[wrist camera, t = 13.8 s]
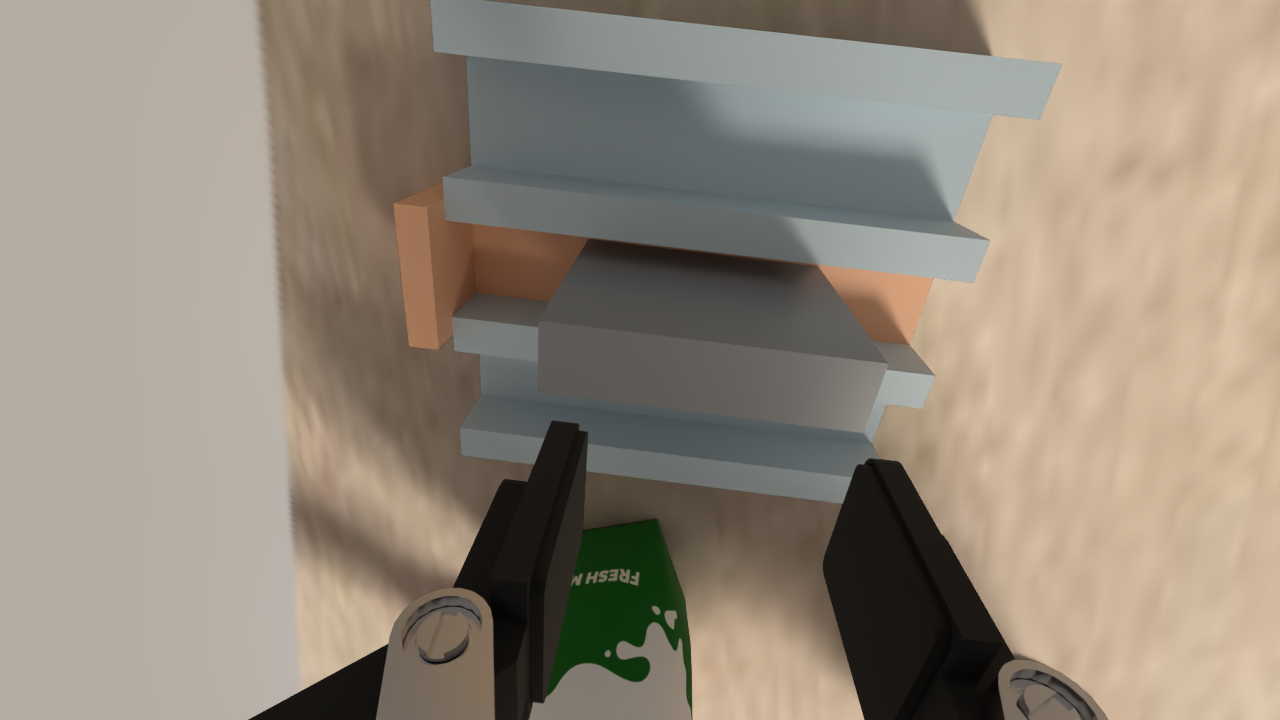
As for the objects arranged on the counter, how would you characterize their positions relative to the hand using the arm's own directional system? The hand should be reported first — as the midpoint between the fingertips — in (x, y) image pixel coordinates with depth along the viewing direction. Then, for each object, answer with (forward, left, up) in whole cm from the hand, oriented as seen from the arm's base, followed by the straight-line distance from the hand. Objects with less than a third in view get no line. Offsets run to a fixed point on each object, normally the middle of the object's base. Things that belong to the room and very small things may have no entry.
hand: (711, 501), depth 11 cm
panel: (0, 0, -14) cm, 14 cm away
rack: (0, 0, -15) cm, 15 cm away
